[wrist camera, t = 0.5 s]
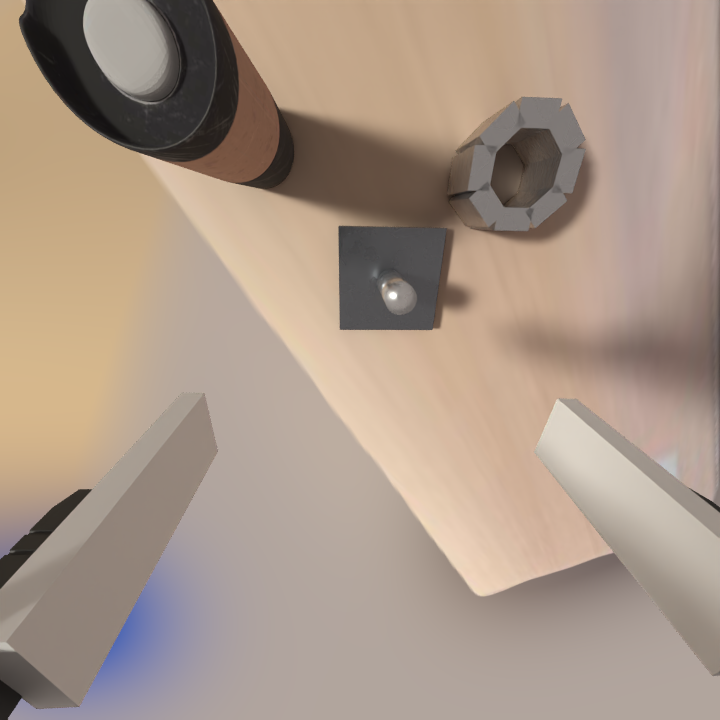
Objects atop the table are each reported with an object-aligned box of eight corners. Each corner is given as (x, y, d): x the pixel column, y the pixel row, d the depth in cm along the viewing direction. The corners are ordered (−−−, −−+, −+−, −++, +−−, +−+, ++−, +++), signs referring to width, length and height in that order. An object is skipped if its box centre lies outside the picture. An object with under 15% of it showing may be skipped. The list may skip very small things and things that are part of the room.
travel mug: (309, 175, 30) (256, 114, 12) (244, 202, 31) (107, 182, 13) (276, 85, 27) (138, -178, 9) (204, 118, 28) (-51, -62, 10)
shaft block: (338, 225, 32) (336, 228, 24) (442, 227, 33) (475, 231, 25) (340, 325, 38) (338, 356, 29) (429, 325, 38) (453, 356, 30)
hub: (457, 118, 29) (483, 95, 23) (553, 121, 29) (600, 100, 24) (442, 227, 33) (461, 229, 28) (526, 229, 34) (560, 231, 28)
